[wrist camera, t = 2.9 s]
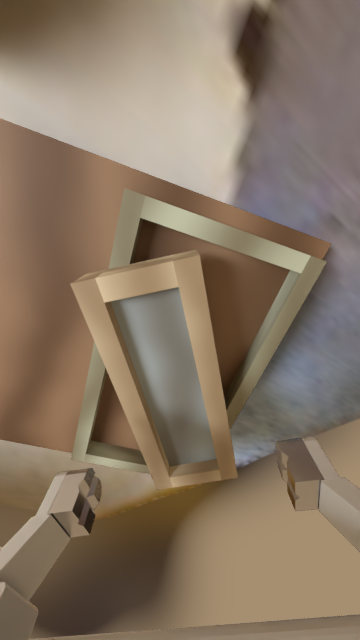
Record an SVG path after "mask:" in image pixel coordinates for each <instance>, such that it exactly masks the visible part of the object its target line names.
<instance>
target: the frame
mask: <svg viewBox="0 0 360 640" xmlns="http://www.w3.org/2000/svg"><path fill="white" fill-rule="evenodd" d="M70 285H71V287H72V289H73V292H74V294H75V296H76V299H77V301H78V304H79V306H80V308H81V311H82V313H83V315H84V318H85V320H86V322H87V325H88V327H89V330H90V332H91V334H92V337H93V339H94V341H95V344H96V346H97V348H98V351H99V353H100V356H101V358H102V360H103V363H104V365H105V367H106V370H107V372H108V374H109V377H110V379H111V382H112V384H113V386H114V389H115V391H116V393H117V396H118V398H119V400H120V403H121V405H122V408H123V410H124V412H125V415H126V417H127V419H128V422H129V424H130V426H131V429H132V431H133V434H134V436H135V438H136V441H137V443H138V445H139V448H140V450H141V452H142V455H143V457H144V460H145V462H146V464H147V467H148V469H149V471H150V474H151V476H152V478H153V481H154V483H155V486H156V488H157V490H159V489H166V488H173V487H179V486H186V485H192V484H199V483H206V482H212V481H219V480H226V479H232V478H238V476H237V470H236V464H235V459H234V453H233V447H232V441H231V435H230V429H229V424H228V418H227V412H226V406H225V400H224V394H223V388H222V383H221V377H220V371H219V365H218V359H217V353H216V348H215V342H214V336H213V330H212V324H211V318H210V313H209V307H208V301H207V295H206V289H205V283H204V278H203V272H202V266H201V260H200V255H199V253H198V252H197V250H191V251H187V252H182V253H178V254H173V255H169V256H164V257H160V258H155V259H151V260H146V261H142V262H137V263H133V264H128V265H124V266H119V267H115V268H110V269H106V270H101V271H97V272H92V273H88V274H85V275H83V276H82V277H80V278H79V279H77V280H75V281H74V282H72V283H70Z"/></svg>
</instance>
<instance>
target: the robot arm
mask: <svg viewBox="0 0 360 640" xmlns="http://www.w3.org/2000/svg"><path fill="white" fill-rule="evenodd" d="M276 449H277V452H278V453H277V454H276V458H277V463H278V467H279V470H280V473H281V476H282V478H283V480H284V481H285V482H286V483H287V488H288V494H289V496H290V499H291V501H292V504H293V506H294V509H295V511H303V510H315V509H319V511H320V512H321V513H322V514H323V515H324V517H326V519H327V520H328V521H329V522H330V523H331V524H333V526H334V527H335V528H336V529H337V530H338V531H339V532H340V533H341V534H342V535H343V536H344V537H345V538H346V539H347V540H348V541H349V542H350V543H351V544H352V545H353V546H354V547H355V548H356V549H357V550H358V551H359V552H360V488H358V487H357V486H355V485H354V484H353V483H351V482H350V481H349V480H347V479H346V478H340V477H339V475H338V474H337V472H336V470H335V469H334V467H333V465H332V464H331V462H330V461H329V459H328V457H327V456H326V454H325V453H324V451H323V449H322V448H321V446H320V445H319V443H318V441H317V440H316V438H314V437H313V436H310V437H304V438H295V439H289V440H283V441H277V442H276ZM94 474H95V472H94V470H93V469H92V468H89V469H81V470H74V471H65V472H58V474H57V475H56V476H55V477H54V479H53V481H52V483H51V485H50V487H49V489H48V491H47V493H46V495H45V498H44V500H43V502H42V504H41V506H40V508H39V510H38V512H37V514H36V516H33V517H31V518H30V519H29V520H28V522H27V523H26V524H25V525H24V526H23V527H22V528H21V529H20V530H19V531H18V532H17V533H16V534H15V535H14V536H13V537H12V538H11V539H10V541H8V542H7V544H6V545H5V546H4V547H3V548H2V549H1V550H0V640H360V615H347V616H334V617H321V618H307V619H293V620H280V621H267V622H255V623H254V622H253V623H240V624H227V625H214V626H202V627H187V628H174V629H161V630H147V631H135V632H121V633H107V634H94V635H80V636H68V637H54V638H41V639H29V638H30V635H31V632H32V629H33V626H34V623H35V621H36V618H37V615H38V610H37V608H36V607H35V606H34V605H33V604H31V603H30V602H29V600H30V598H31V597H32V595H33V593H34V592H35V591H36V589H37V588H38V586H39V585H40V583H41V582H42V581H43V579H44V577H45V576H46V575H47V573H48V572H49V570H50V569H51V567H52V566H53V564H54V563H55V561H56V560H57V558H58V557H59V556H60V554H61V553H62V551H63V550H64V548H65V547H66V545H67V544H68V542H69V541H70V538H72V537H79V536H86V535H89V534H90V532H91V529H92V525H93V522H94V519H95V512H94V509H95V507H96V506H97V505H98V504H99V501H100V497H101V488H102V487H101V482H100V480H99V479H98V478H96V477H95V476H94Z"/></svg>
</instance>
